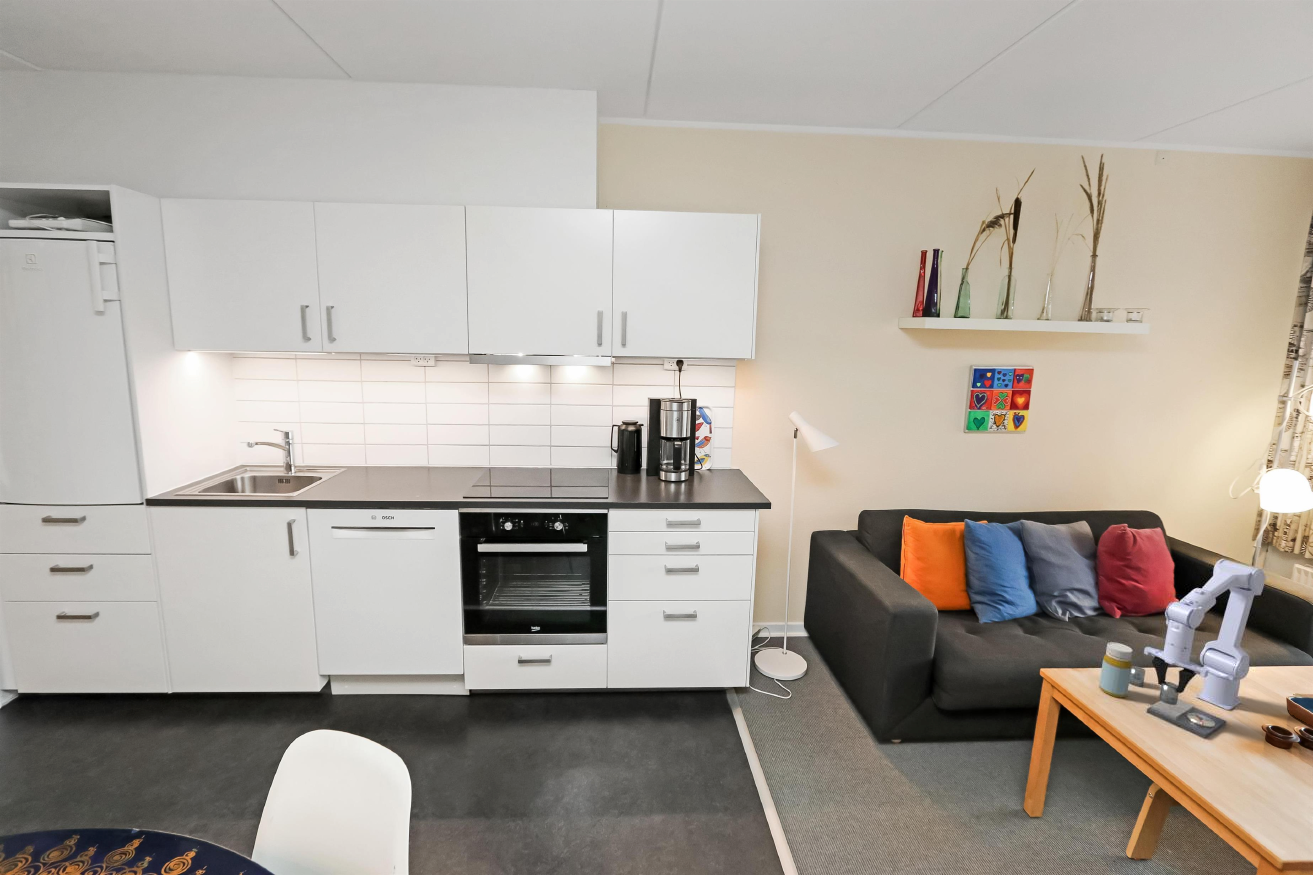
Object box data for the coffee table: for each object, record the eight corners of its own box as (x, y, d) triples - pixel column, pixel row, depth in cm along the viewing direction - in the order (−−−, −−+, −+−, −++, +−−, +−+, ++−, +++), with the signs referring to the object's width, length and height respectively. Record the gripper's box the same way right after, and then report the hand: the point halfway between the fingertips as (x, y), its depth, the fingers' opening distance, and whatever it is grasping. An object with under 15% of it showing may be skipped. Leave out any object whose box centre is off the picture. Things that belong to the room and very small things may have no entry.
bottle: (1098, 683, 192) (1105, 639, 190) (1126, 691, 188) (1133, 646, 186) (1098, 692, 187) (1105, 647, 185) (1127, 701, 183) (1134, 655, 181)
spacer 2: (1156, 699, 177) (1159, 683, 176) (1163, 695, 178) (1165, 679, 178) (1173, 706, 173) (1175, 690, 172) (1179, 702, 175) (1182, 686, 174)
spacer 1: (1130, 678, 196) (1133, 664, 195) (1145, 684, 192) (1147, 670, 192) (1124, 681, 194) (1127, 667, 193) (1139, 687, 191) (1141, 673, 190)
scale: (1168, 700, 184) (1169, 693, 184) (1225, 724, 172) (1227, 717, 172) (1146, 712, 177) (1147, 705, 177) (1204, 738, 166) (1206, 731, 165)
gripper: (1141, 635, 178) (1134, 678, 180) (1203, 658, 165) (1194, 704, 167) (1154, 631, 181) (1147, 673, 183) (1215, 653, 168) (1206, 698, 170)
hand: (1170, 687), depth 175 cm, fingers closed on spacer 2, 4 cm apart
